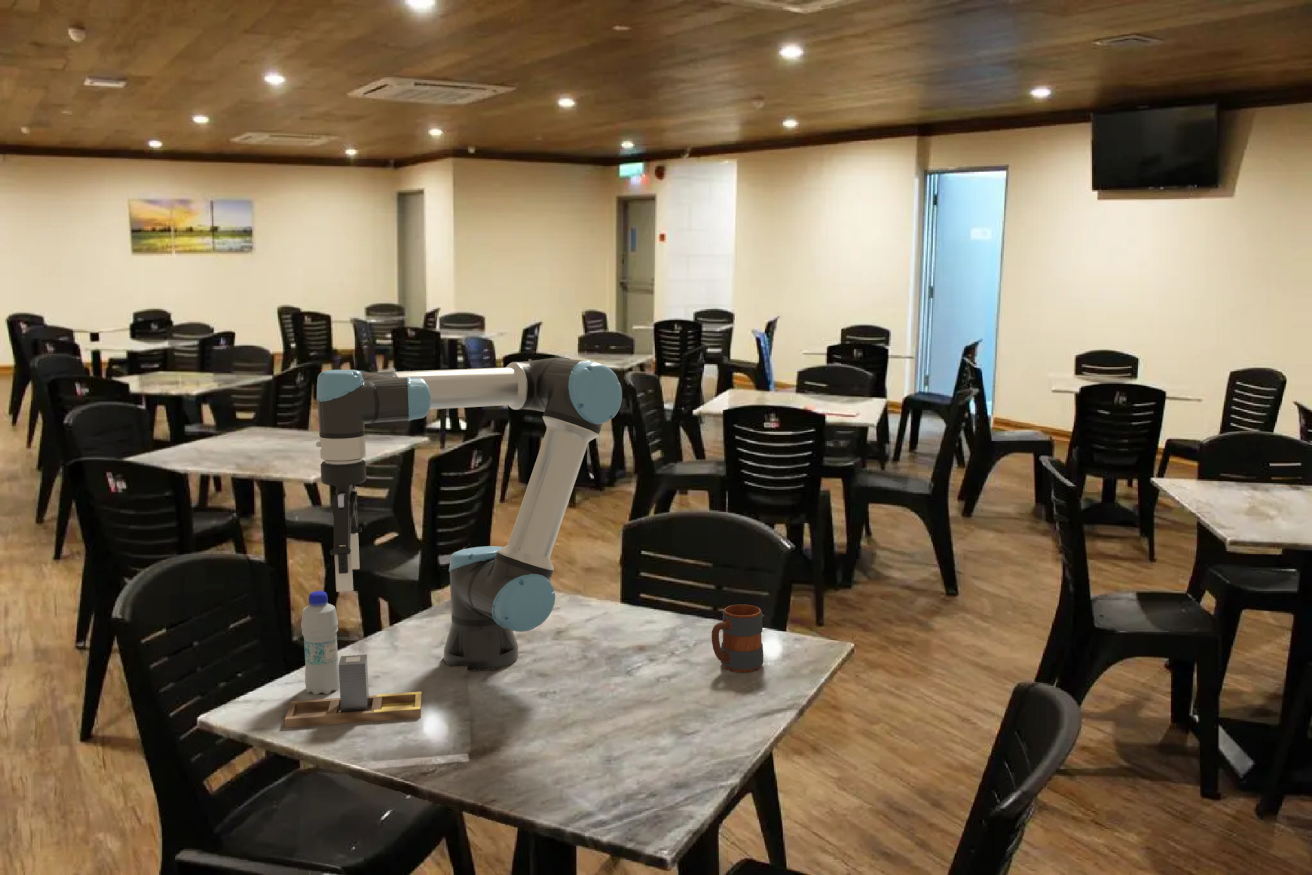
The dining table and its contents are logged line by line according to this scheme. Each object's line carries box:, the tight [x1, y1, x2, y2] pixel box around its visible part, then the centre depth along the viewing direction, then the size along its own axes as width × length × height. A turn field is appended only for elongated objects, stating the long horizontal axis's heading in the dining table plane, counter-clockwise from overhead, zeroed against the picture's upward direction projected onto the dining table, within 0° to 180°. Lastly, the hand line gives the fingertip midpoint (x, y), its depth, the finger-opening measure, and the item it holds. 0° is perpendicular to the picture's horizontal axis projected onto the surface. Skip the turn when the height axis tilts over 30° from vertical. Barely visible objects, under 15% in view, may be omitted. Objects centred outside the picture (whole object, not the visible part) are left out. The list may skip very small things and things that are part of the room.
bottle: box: [300, 590, 340, 696], centre depth 208 cm, size 7×7×20 cm
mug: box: [711, 604, 764, 673], centre depth 221 cm, size 9×12×12 cm
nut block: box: [338, 654, 370, 713], centre depth 197 cm, size 4×4×10 cm
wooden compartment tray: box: [284, 691, 423, 728], centre depth 198 cm, size 23×8×3 cm, turn 101°
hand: (348, 579), depth 194 cm, fingers open, 13 cm apart
